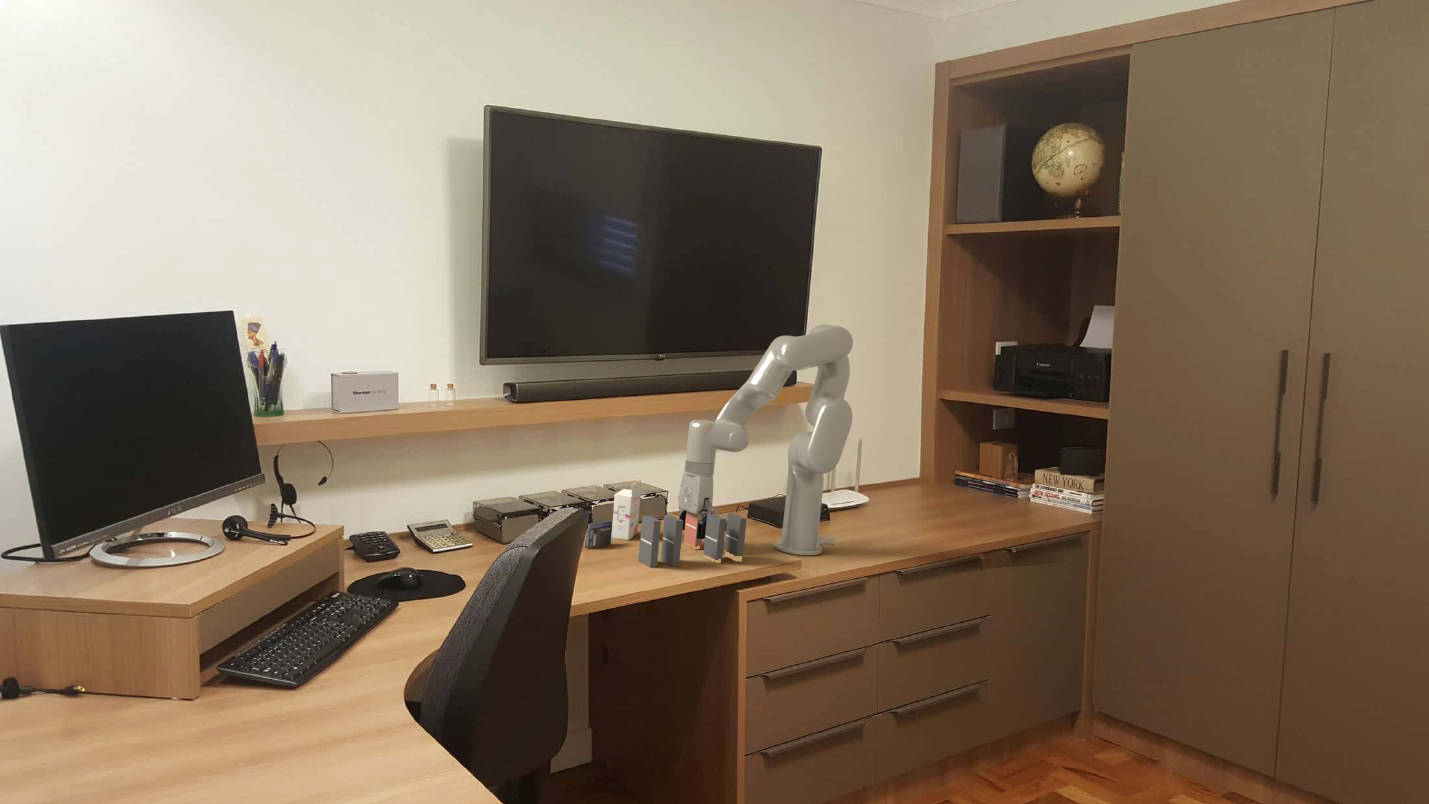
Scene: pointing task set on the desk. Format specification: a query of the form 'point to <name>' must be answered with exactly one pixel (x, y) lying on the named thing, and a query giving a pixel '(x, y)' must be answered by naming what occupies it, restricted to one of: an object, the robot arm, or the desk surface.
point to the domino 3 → (692, 529)
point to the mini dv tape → (598, 534)
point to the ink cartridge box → (626, 512)
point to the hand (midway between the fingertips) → (692, 534)
